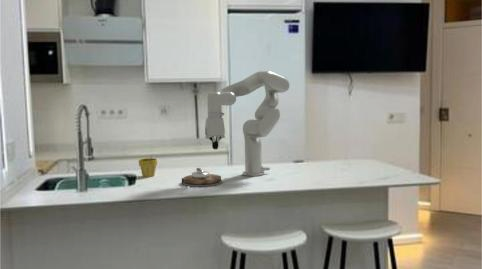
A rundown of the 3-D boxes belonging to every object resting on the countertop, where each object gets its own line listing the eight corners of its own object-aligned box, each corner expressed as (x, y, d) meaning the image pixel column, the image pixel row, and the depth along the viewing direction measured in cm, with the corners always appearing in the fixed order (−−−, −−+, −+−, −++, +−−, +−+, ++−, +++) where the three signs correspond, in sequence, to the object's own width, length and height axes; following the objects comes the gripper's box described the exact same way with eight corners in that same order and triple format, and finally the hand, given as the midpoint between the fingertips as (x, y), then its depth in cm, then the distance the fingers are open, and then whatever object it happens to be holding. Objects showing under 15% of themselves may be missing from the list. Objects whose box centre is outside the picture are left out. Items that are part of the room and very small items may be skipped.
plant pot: (153, 178, 277) (153, 160, 276) (136, 177, 279) (135, 160, 278) (160, 174, 287) (159, 158, 286) (143, 174, 290) (143, 157, 289)
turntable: (216, 176, 273) (215, 166, 273) (225, 182, 254) (225, 172, 254) (180, 178, 268) (180, 169, 267) (187, 185, 249) (186, 175, 248)
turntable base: (217, 177, 275) (217, 172, 274) (227, 185, 254) (227, 179, 253) (178, 180, 268) (178, 174, 268) (185, 188, 247) (185, 182, 247)
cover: (206, 175, 266) (206, 168, 265) (211, 178, 257) (210, 171, 257) (190, 176, 263) (190, 169, 262) (194, 180, 254) (194, 172, 254)
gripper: (225, 114, 270) (226, 147, 272) (199, 115, 265) (200, 149, 267) (230, 115, 263) (230, 149, 265) (203, 116, 258) (203, 150, 260)
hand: (215, 149), depth 266 cm, fingers closed
